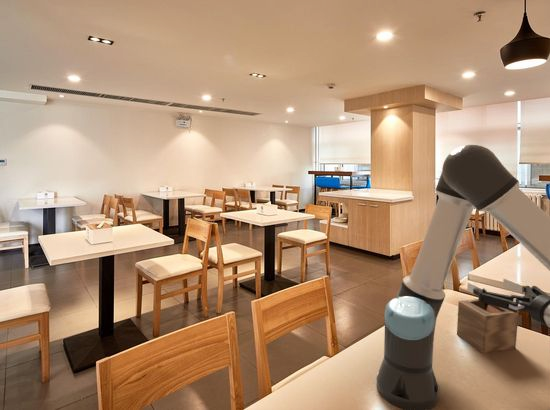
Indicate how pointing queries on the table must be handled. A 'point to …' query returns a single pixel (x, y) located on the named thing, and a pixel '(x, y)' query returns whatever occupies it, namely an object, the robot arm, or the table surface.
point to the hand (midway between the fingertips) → (486, 284)
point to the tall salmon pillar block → (492, 309)
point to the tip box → (486, 326)
